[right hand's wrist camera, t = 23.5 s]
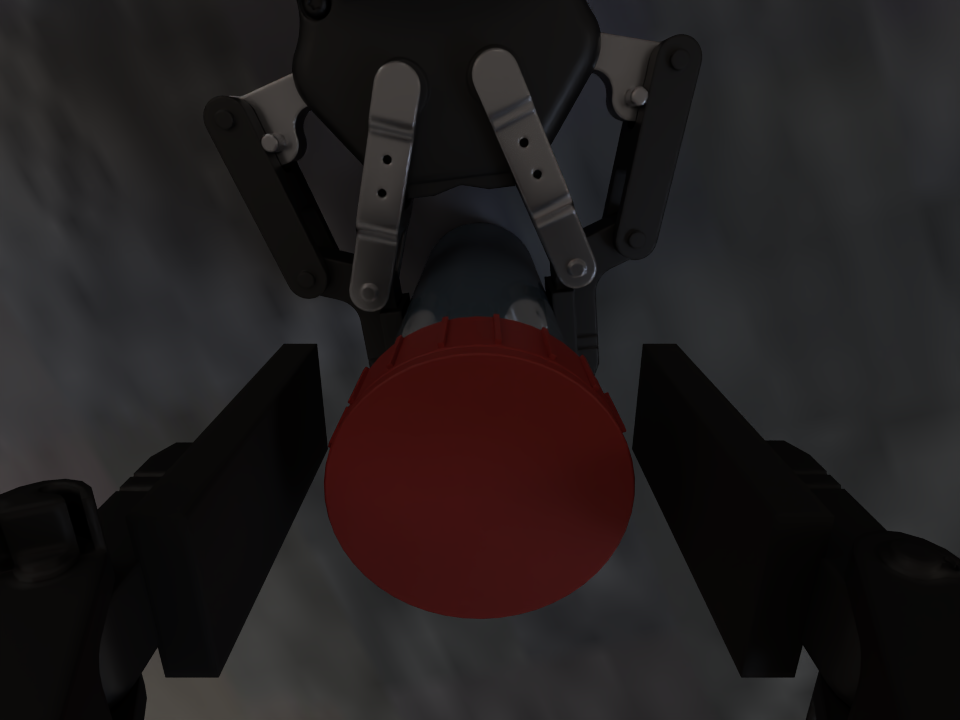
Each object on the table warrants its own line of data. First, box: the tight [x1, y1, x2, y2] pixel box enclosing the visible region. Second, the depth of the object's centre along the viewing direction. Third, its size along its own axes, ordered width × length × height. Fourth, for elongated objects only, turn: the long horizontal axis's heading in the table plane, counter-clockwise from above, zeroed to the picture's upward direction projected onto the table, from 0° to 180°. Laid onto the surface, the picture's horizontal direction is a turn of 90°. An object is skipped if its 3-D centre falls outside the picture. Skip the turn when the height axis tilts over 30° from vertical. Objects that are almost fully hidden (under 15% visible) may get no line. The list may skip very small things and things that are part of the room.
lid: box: [324, 314, 635, 619], centre depth 11 cm, size 5×5×2 cm
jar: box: [393, 223, 567, 346], centre depth 18 cm, size 5×5×15 cm
